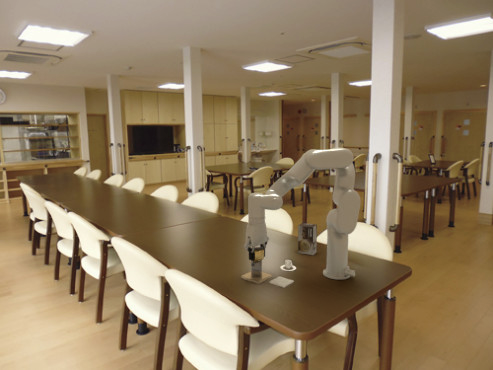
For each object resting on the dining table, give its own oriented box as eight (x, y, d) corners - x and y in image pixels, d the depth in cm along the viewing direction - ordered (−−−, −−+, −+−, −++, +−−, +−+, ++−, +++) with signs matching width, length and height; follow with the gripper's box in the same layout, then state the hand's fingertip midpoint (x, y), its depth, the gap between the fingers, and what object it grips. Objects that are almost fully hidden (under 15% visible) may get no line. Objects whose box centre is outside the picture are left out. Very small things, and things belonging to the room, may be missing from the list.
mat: (293, 282, 159) (293, 280, 158) (283, 287, 152) (283, 286, 152) (279, 277, 164) (279, 276, 164) (269, 283, 158) (269, 281, 158)
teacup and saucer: (286, 264, 182) (286, 256, 181) (300, 267, 177) (300, 260, 176) (277, 269, 175) (277, 261, 174) (290, 273, 170) (290, 264, 169)
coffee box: (316, 252, 199) (317, 224, 196) (312, 255, 193) (313, 227, 191) (301, 249, 203) (302, 222, 201) (297, 252, 198) (297, 225, 196)
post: (271, 277, 164) (271, 259, 163) (258, 284, 156) (258, 265, 155) (254, 271, 170) (254, 255, 169) (241, 278, 163) (241, 260, 162)
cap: (261, 255, 166) (261, 245, 165) (265, 259, 160) (265, 249, 159) (248, 256, 164) (248, 246, 164) (252, 261, 158) (252, 250, 158)
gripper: (263, 215, 168) (263, 251, 171) (237, 222, 156) (237, 261, 159) (275, 218, 163) (275, 255, 166) (249, 225, 151) (249, 265, 153)
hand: (257, 257), depth 162 cm, fingers closed on cap, 6 cm apart
